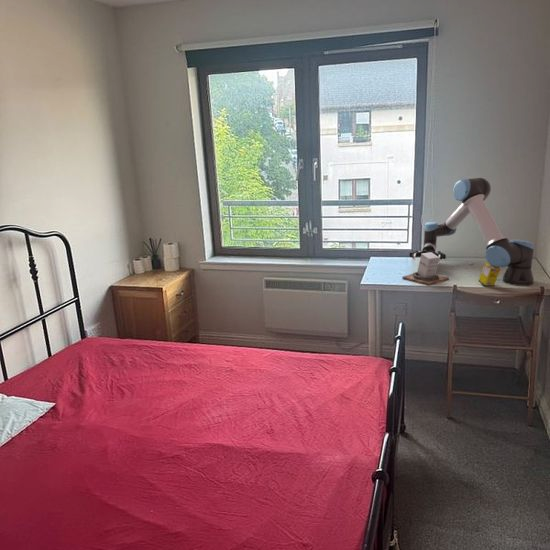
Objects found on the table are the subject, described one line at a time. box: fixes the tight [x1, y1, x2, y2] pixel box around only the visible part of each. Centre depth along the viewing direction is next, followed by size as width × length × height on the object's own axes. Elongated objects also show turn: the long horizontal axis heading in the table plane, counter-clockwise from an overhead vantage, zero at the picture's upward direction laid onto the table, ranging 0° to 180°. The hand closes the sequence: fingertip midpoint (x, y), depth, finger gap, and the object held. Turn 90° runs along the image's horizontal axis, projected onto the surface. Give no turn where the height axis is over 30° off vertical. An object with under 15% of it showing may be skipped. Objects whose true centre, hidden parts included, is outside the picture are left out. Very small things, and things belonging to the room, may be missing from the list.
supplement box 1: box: [416, 252, 440, 277], centre depth 277 cm, size 7×7×13 cm
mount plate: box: [402, 271, 450, 286], centre depth 279 cm, size 18×18×3 cm
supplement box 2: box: [477, 262, 501, 287], centre depth 264 cm, size 6×6×11 cm
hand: (426, 258), depth 281 cm, fingers open, 13 cm apart
